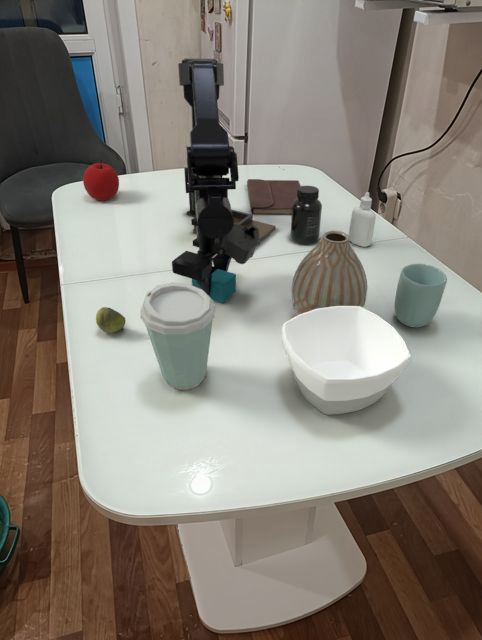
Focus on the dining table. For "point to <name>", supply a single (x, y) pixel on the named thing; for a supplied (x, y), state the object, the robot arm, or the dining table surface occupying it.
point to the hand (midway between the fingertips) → (214, 288)
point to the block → (221, 285)
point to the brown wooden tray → (247, 221)
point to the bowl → (343, 357)
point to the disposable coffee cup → (179, 331)
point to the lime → (109, 320)
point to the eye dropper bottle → (362, 223)
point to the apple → (101, 181)
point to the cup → (419, 294)
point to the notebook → (272, 195)
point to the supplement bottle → (306, 216)
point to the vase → (329, 276)
